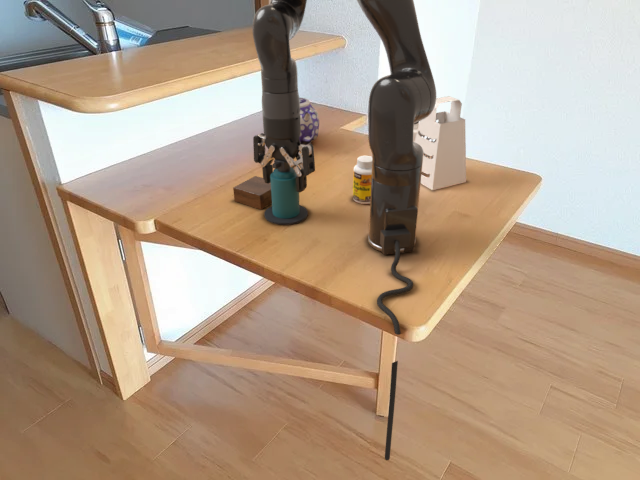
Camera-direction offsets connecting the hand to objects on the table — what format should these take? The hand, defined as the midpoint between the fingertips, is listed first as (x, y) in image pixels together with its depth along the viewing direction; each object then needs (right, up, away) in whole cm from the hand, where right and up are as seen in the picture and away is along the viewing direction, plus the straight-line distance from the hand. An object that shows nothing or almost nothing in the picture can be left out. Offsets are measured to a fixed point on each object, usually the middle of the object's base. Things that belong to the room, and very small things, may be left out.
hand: (284, 186), depth 113 cm
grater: (+37, +4, +20) cm, 42 cm away
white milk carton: (+32, +14, +37) cm, 51 cm away
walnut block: (-7, -2, +11) cm, 13 cm away
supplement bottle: (+18, -2, +10) cm, 21 cm away
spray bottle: (+2, -2, +6) cm, 7 cm away
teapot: (0, +17, +44) cm, 47 cm away
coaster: (0, -6, +4) cm, 7 cm away
